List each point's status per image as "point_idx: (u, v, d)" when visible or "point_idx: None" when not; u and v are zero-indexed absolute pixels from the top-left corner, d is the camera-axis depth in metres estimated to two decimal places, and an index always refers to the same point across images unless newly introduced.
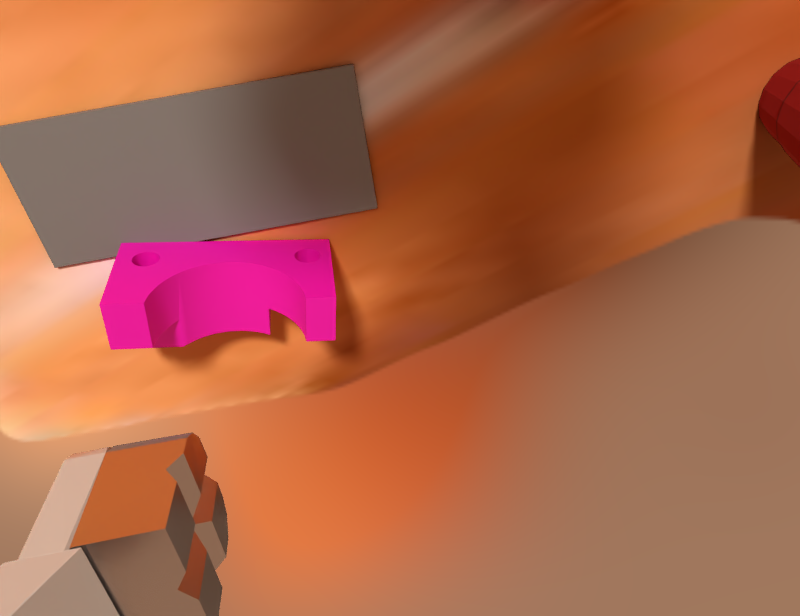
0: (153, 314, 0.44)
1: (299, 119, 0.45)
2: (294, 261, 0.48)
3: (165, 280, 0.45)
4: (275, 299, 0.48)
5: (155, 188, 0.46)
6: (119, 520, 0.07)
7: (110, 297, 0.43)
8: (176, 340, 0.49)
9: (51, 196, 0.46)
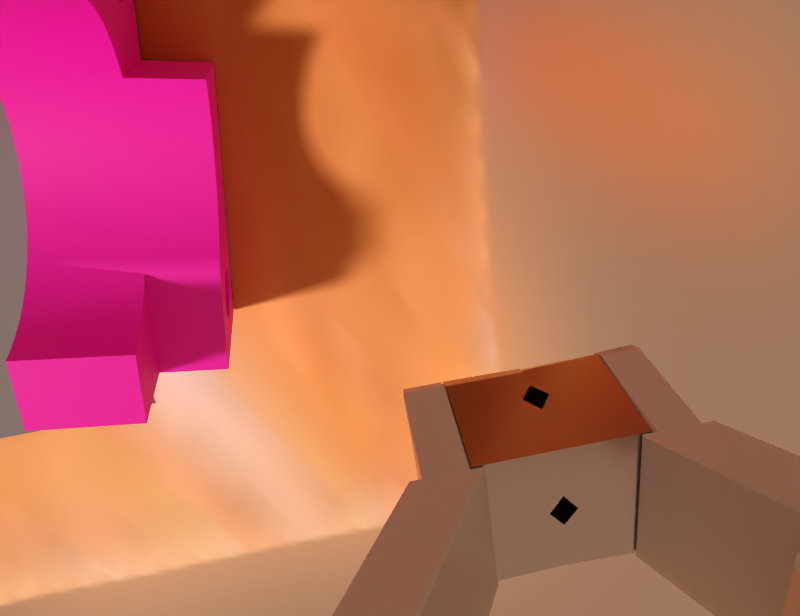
0: (69, 337, 0.21)
1: None
2: None
3: (24, 293, 0.22)
4: (79, 59, 0.20)
5: None
6: (506, 443, 0.07)
7: None
8: (203, 282, 0.23)
9: (9, 396, 0.29)
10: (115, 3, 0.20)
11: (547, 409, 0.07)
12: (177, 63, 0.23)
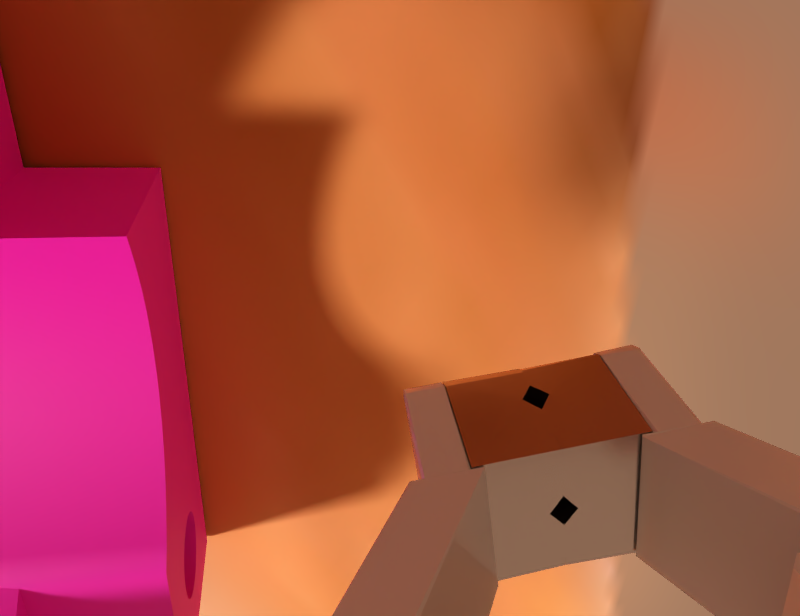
0: None
1: None
2: None
3: None
4: None
5: None
6: (506, 443, 0.07)
7: None
8: (135, 593, 0.12)
9: None
10: None
11: (547, 409, 0.07)
12: (89, 176, 0.12)
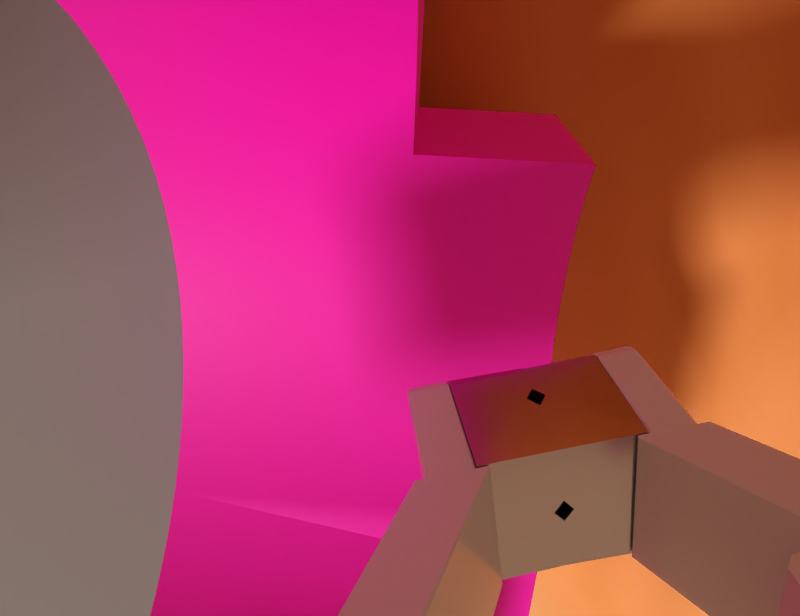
0: None
1: None
2: None
3: (162, 563, 0.11)
4: (331, 114, 0.09)
5: (52, 424, 0.15)
6: (511, 442, 0.07)
7: None
8: None
9: None
10: None
11: (543, 410, 0.07)
12: (491, 116, 0.12)
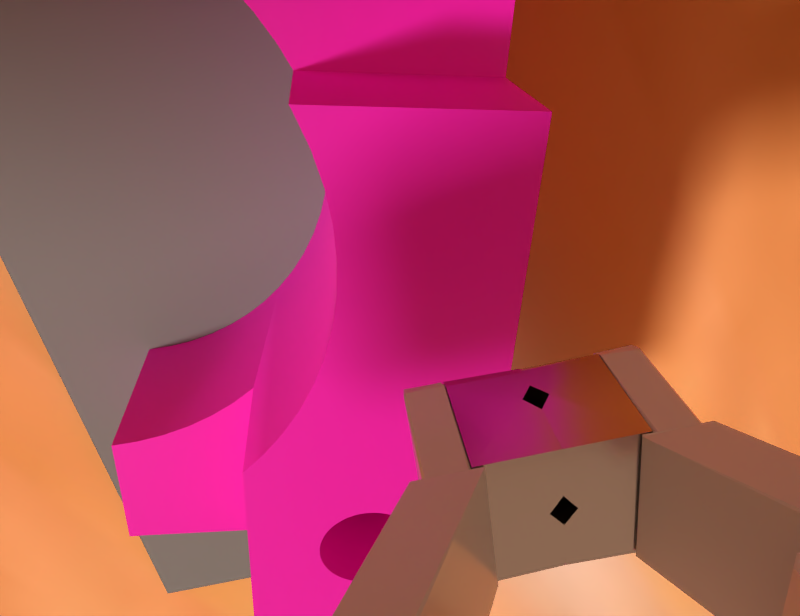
0: (173, 379, 0.16)
1: None
2: None
3: (247, 314, 0.17)
4: None
5: None
6: (506, 443, 0.07)
7: None
8: None
9: None
10: None
11: (547, 409, 0.07)
12: (491, 92, 0.10)
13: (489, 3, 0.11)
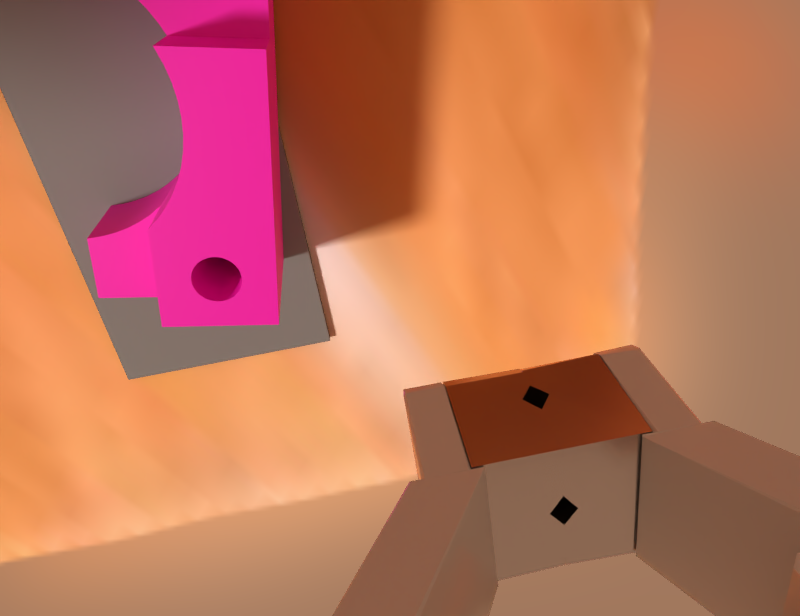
0: (123, 214, 0.28)
1: None
2: None
3: (167, 184, 0.29)
4: None
5: None
6: (506, 443, 0.07)
7: None
8: None
9: (215, 326, 0.33)
10: None
11: (547, 409, 0.07)
12: (251, 43, 0.22)
13: (256, 4, 0.23)
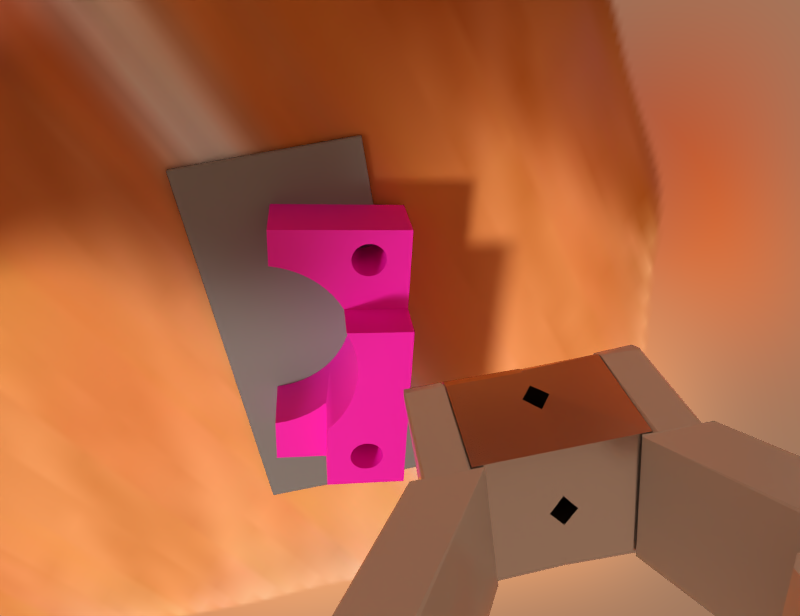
0: (291, 398, 0.41)
1: (241, 233, 0.37)
2: None
3: (317, 372, 0.42)
4: None
5: None
6: (506, 443, 0.07)
7: None
8: None
9: None
10: (352, 275, 0.35)
11: (547, 409, 0.07)
12: (401, 320, 0.36)
13: (401, 290, 0.36)
